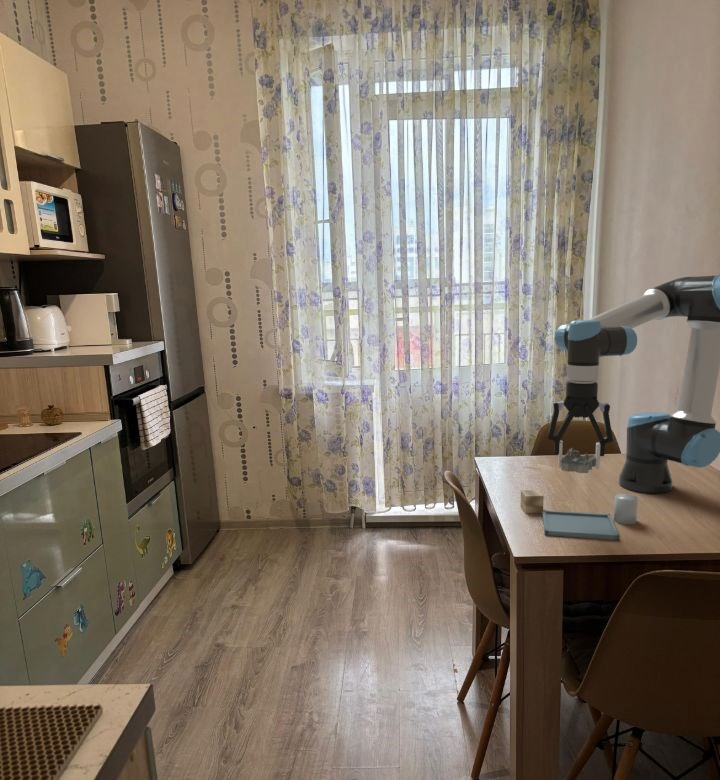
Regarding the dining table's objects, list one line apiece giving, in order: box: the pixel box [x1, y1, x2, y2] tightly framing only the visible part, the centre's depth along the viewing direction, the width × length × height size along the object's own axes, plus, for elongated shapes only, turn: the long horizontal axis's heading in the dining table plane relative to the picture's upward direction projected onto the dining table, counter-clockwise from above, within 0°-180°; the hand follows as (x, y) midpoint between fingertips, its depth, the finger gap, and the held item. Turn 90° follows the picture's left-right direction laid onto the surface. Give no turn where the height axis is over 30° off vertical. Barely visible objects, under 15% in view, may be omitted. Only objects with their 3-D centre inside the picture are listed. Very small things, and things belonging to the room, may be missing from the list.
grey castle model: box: [560, 447, 596, 474], centre depth 157 cm, size 11×8×4 cm
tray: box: [541, 509, 620, 541], centre depth 158 cm, size 18×15×1 cm
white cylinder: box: [613, 493, 639, 526], centre depth 161 cm, size 6×6×6 cm
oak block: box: [520, 489, 545, 514], centre depth 170 cm, size 5×5×5 cm
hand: (578, 466), depth 157 cm, fingers closed on grey castle model, 8 cm apart
